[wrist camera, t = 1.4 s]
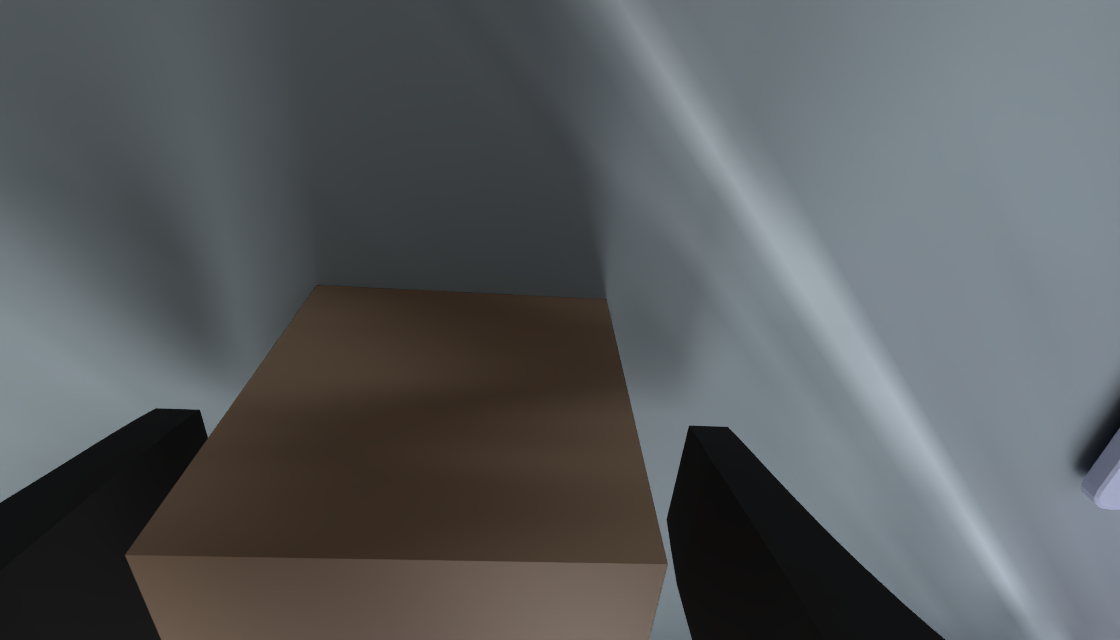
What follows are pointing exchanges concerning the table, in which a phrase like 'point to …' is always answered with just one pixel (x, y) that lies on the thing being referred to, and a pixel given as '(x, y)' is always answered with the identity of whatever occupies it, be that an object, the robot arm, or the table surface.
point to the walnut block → (416, 482)
